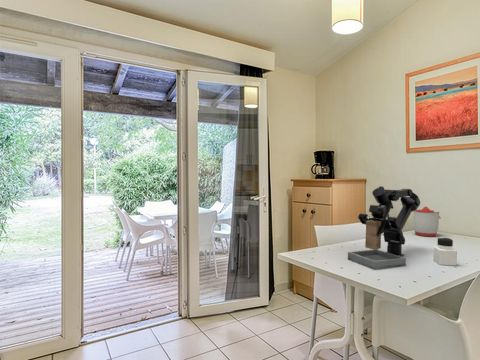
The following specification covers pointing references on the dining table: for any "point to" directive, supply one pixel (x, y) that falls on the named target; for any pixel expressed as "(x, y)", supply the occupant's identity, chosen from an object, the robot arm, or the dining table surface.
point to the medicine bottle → (445, 252)
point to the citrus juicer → (426, 222)
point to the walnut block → (373, 235)
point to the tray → (376, 259)
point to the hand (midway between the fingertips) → (371, 234)
